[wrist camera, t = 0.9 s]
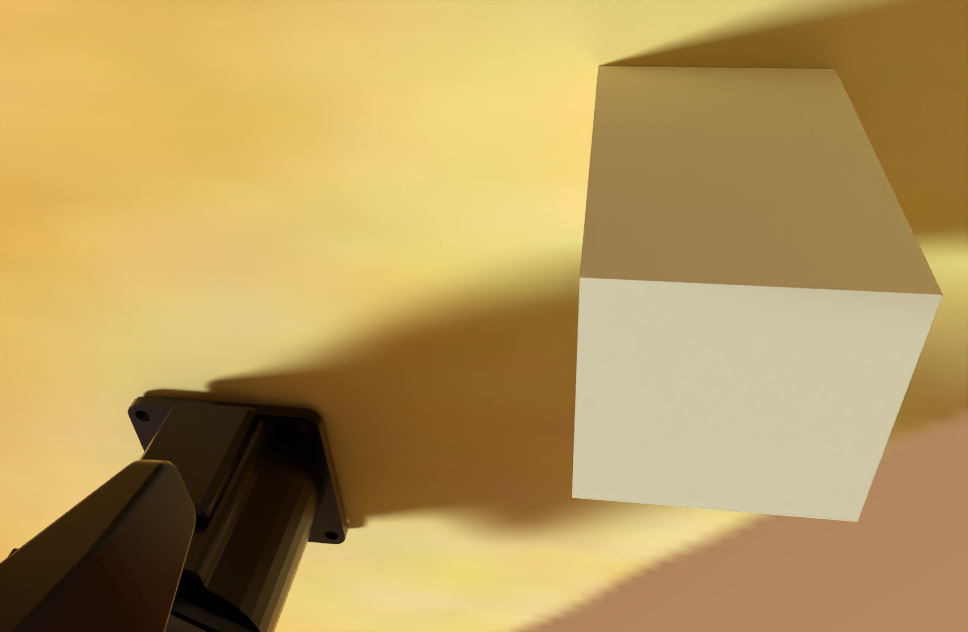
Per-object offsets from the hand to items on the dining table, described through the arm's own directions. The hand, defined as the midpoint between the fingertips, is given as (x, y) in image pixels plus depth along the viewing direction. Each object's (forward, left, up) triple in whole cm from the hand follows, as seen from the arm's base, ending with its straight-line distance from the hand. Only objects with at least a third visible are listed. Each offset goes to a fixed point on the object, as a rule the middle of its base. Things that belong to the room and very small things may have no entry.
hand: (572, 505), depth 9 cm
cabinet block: (-3, -2, -12) cm, 13 cm away
